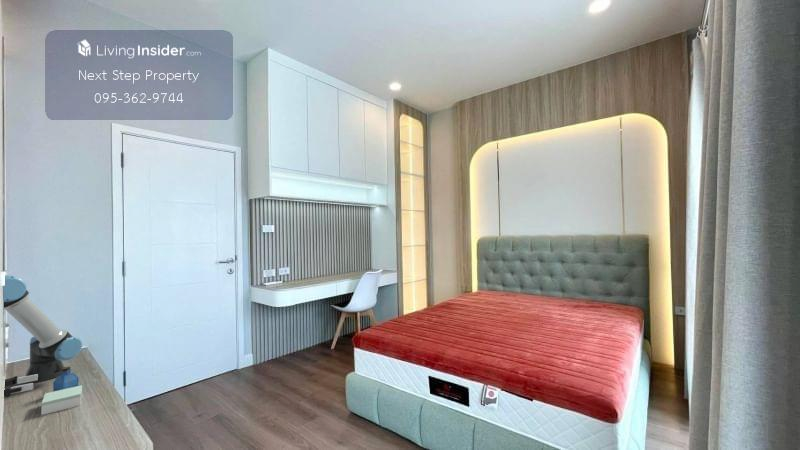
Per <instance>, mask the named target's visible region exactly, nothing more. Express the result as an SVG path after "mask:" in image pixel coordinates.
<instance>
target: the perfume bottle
mask: <svg viewBox="0 0 800 450" xmlns="http://www.w3.org/2000/svg"><path fill="white" fill-rule="evenodd" d="M61 374H62V375H60V376H58V377H56V378H54V380H53V383H52V384H53V385H52V386H53V387H52V388H53V390H52V392H54V391H58V390H63V389H67V388H72V387H76V386H79V377H78V376H77V374H75V373H73V372H72V368H71V366H64V368H62V371H61Z"/></svg>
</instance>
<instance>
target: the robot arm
mask: <svg viewBox="0 0 800 450" xmlns="http://www.w3.org/2000/svg"><path fill="white" fill-rule="evenodd" d="M29 295H30V292H29V291H28V290H27V283H26V282H25V281H24V280H23V279H22V278H20V277H17V276H14V275H9V274H8V275H7V274H6V275H5V286H4V309H3V310H5V311H6V312H7V313H8V314H10V315H11V316H12V318H14V319H15V321H17V322H18V323H19V324H20V325H21V326H22V327H24V329H26V331H28V333H30V334H31V338H30V341H29V366H28V369H27V371H26V373H25V375H24V376H20V377H18V375H15V376H12V377H10V378H6V379H4V380H5V387H4V388H5V390H4V397H3V398H9V397H11V395H12V394H19V393H22V392H28V391H33V390H34V383H38V382H43V381H48V380H52V379H56V378H57V377H58V376H60V375H62V374H61V371H62V368H64V367H65V365H64V363H63V361H70V360H72V359H73V358H75V357H77V355H78V354H79V353H80V352H81V350H82V347H83V341H82V339H80V338H78V337H76V336H73V335H71V333H70V332H69V331H68V330H67V329H60V328H59V327H58V326H57V325H56V324H55V322H53V320H51V319H50V317H49V316H47V315H46V314H45V313H44V312H43V310H41V309H40V308H39V307H38V306H37V305H36V304H35V303H34V302H33V300H32V299H30V298H29ZM24 383H26V384H24ZM20 384H21V385H20ZM13 385H16V386H13ZM10 386H12V387H10ZM8 387H9V388H8Z"/></svg>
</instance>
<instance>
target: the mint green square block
mask: <svg viewBox="0 0 800 450" xmlns="http://www.w3.org/2000/svg"><path fill="white" fill-rule="evenodd" d="M82 397H83V385H82V384H81V385H78V386H76V387H72V388H67V389H63V390H58V391H54V392H53V391H50V392H45V393H44V395H43V397H42V400H41V401H42V402H41V408H40V409H41V414H40V415H41V416H43V415H47V414H52V413H55V412H60V411H63V410H68V409H72V408H75V407H79V406H81V404H82Z"/></svg>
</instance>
